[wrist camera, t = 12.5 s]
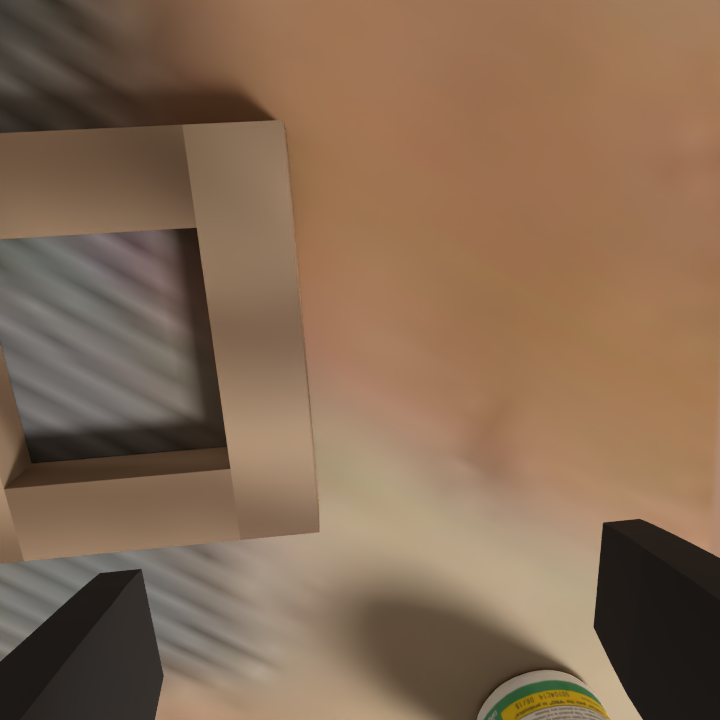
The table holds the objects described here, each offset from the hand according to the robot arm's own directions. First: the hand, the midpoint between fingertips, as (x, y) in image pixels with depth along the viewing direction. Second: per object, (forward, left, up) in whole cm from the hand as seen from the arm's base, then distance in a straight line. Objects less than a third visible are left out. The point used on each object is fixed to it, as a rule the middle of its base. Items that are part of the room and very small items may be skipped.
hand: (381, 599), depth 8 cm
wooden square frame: (+2, +7, -9) cm, 12 cm away
